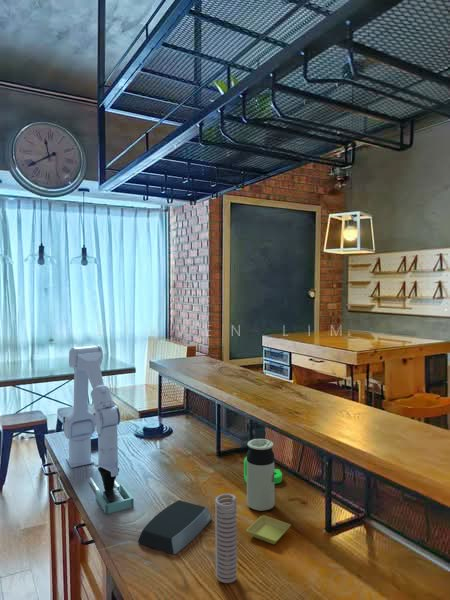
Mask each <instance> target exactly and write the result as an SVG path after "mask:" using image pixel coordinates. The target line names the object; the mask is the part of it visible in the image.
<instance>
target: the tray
mask: <svg viewBox="0 0 450 600" xmlns="http://www.w3.org/2000/svg"><path fill="white" fill-rule="evenodd" d="M119 486H120V491H119V493H120V495H121V496H122V497H123V499H124V500H121V501H117V502H113V503H109V504H107V502H106V500H105V499H104V497H103V493H101V491H99V490H100V489H99V490H96V492H95V498H97V499H96V500H97V502H98V504H99V506H100V505H101V506H100V507H101V509H102V511H103V510H104V511H103V512H104V514H105V515H109V514H113V513H115V512H121V511H123V510H127V509H128V510H129V509H131V508H133V507H134V506H135V505H134V504H135V503H134V497H133V495H132V494H131V493H130V492H129V491H128V489H127V488H126V487H125V485H124V484H123V483H120V484H119Z"/></svg>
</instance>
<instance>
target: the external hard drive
mask: <svg viewBox="0 0 450 600" xmlns="http://www.w3.org/2000/svg"><path fill="white" fill-rule="evenodd" d="M211 520H212V515H211V511H210V510H209V508H208V507H207V506H203V505H198V504H194V503H192V502H187V501H184V500H181V499H178V500H177V501H175V502H173V503H171V504H170V505H168V506H166V507H165V508H164V509H162V510H161V511H159V513H157V514H156V515H155V516H154V517H152V519H151V520H149V522H147V524H146V525H145V526H144V528H143V529H142V531H141V532H140V535H139V537H138V541H137V543H138V544H142V545H144V546H147V547H150V548H153V549H156V550H158V551H162V552H164V553H168V554H171V555H176V554H178V553H179V552H180V551H182V550H183V549H184V548H185V547H186V546H187V545H188V544H190V543H191V542H192V541H193V540H194V539H195V538H196V537H197V536H199V534H200V533H201V532H202V531H203V530H204V529H205V528H206V526H207V525H208V524H209V522H210V521H211Z"/></svg>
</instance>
